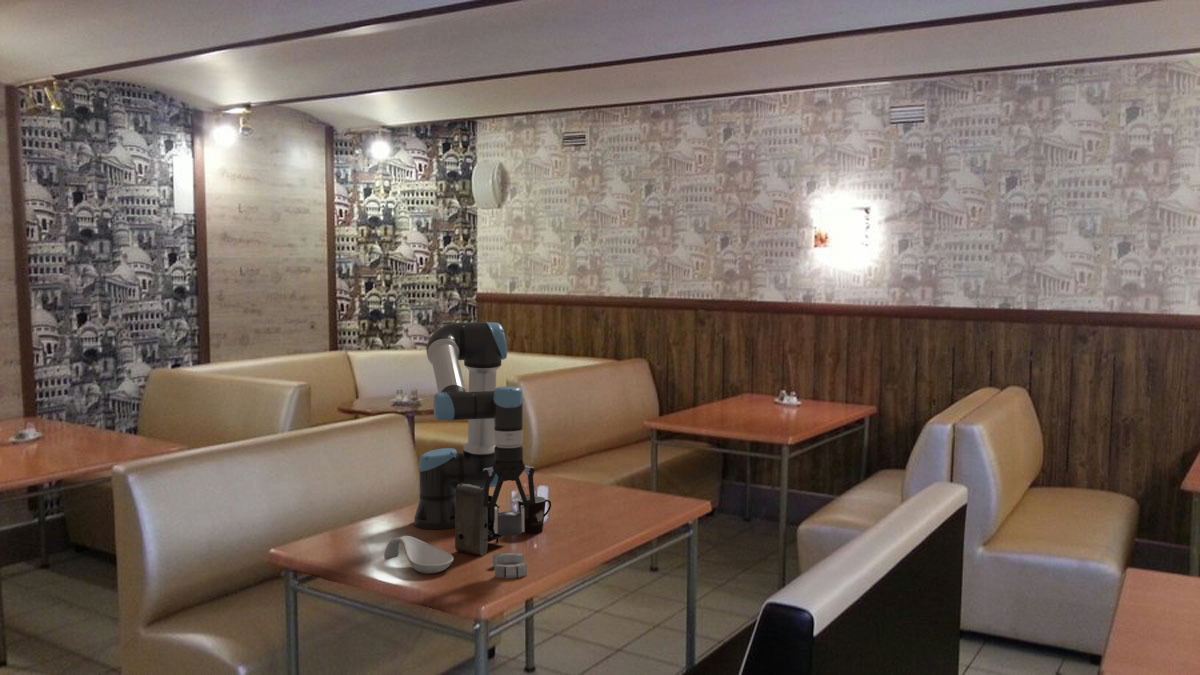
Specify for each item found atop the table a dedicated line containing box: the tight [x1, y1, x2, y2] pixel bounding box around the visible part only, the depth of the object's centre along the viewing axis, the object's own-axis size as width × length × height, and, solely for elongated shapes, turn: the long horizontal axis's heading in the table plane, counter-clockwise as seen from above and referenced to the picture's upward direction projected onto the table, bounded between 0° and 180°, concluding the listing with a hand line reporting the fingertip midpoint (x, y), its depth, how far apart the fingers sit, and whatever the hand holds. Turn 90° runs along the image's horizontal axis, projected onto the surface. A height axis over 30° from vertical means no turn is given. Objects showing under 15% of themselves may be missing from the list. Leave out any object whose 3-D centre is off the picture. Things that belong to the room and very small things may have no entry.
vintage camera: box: [454, 483, 503, 557], centre depth 262 cm, size 10×16×20 cm, turn 149°
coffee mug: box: [517, 495, 552, 535], centre depth 280 cm, size 12×9×10 cm
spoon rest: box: [383, 535, 454, 575], centre depth 247 cm, size 24×12×7 cm, turn 50°
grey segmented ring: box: [492, 552, 528, 579], centre depth 242 cm, size 12×8×3 cm
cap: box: [497, 510, 523, 537], centre depth 241 cm, size 6×6×5 cm
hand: (509, 531), depth 241 cm, fingers closed on cap, 6 cm apart
